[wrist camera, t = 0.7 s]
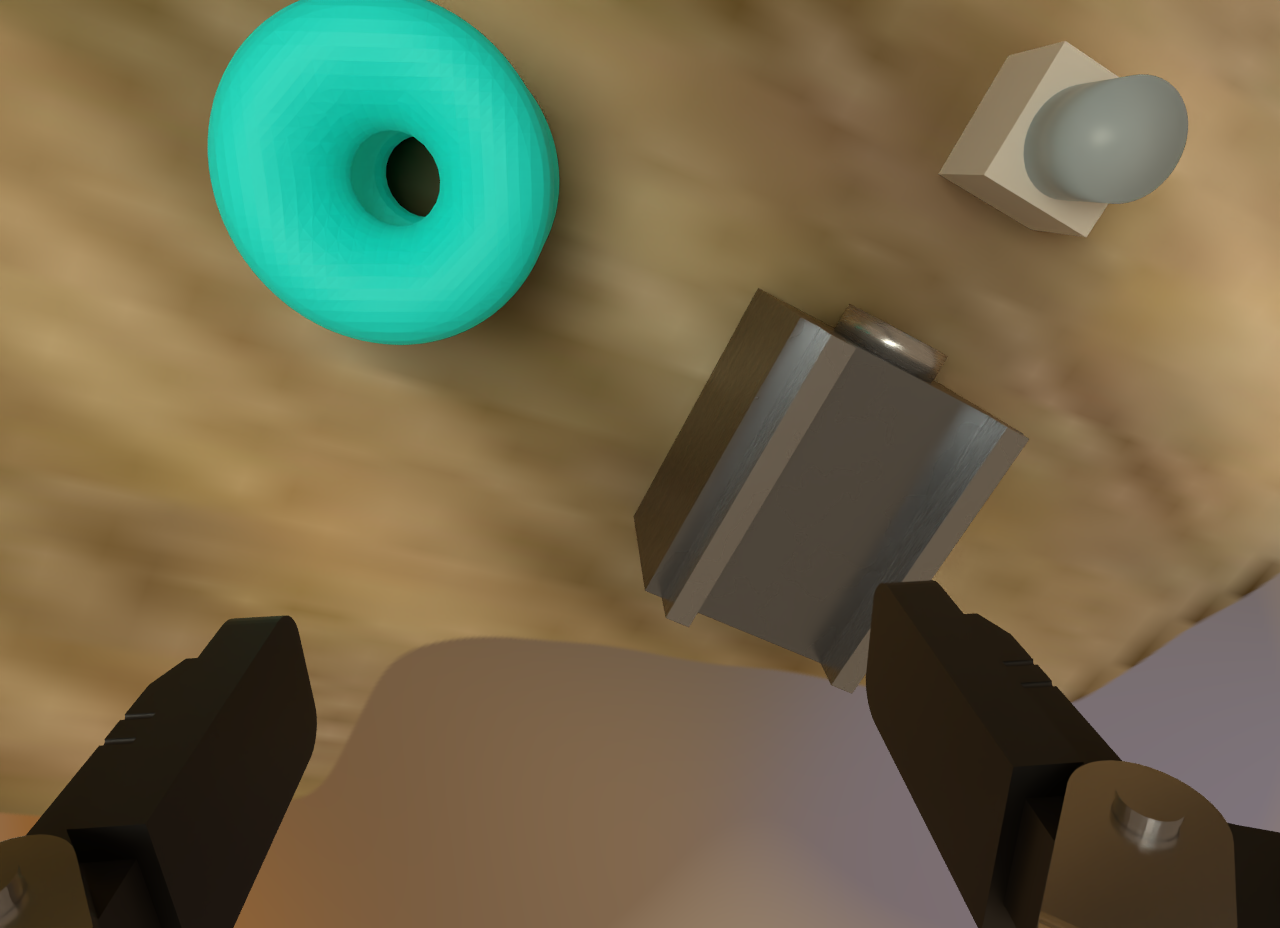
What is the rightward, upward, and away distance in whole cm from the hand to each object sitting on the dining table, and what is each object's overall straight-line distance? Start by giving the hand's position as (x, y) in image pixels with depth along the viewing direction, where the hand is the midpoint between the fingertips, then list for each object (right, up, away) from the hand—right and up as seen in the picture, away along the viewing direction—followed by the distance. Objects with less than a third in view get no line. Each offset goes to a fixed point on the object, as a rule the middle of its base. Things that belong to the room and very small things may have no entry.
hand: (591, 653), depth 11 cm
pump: (+17, +16, +22) cm, 32 cm away
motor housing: (+8, +3, +26) cm, 27 cm away
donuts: (-8, +14, +21) cm, 26 cm away
